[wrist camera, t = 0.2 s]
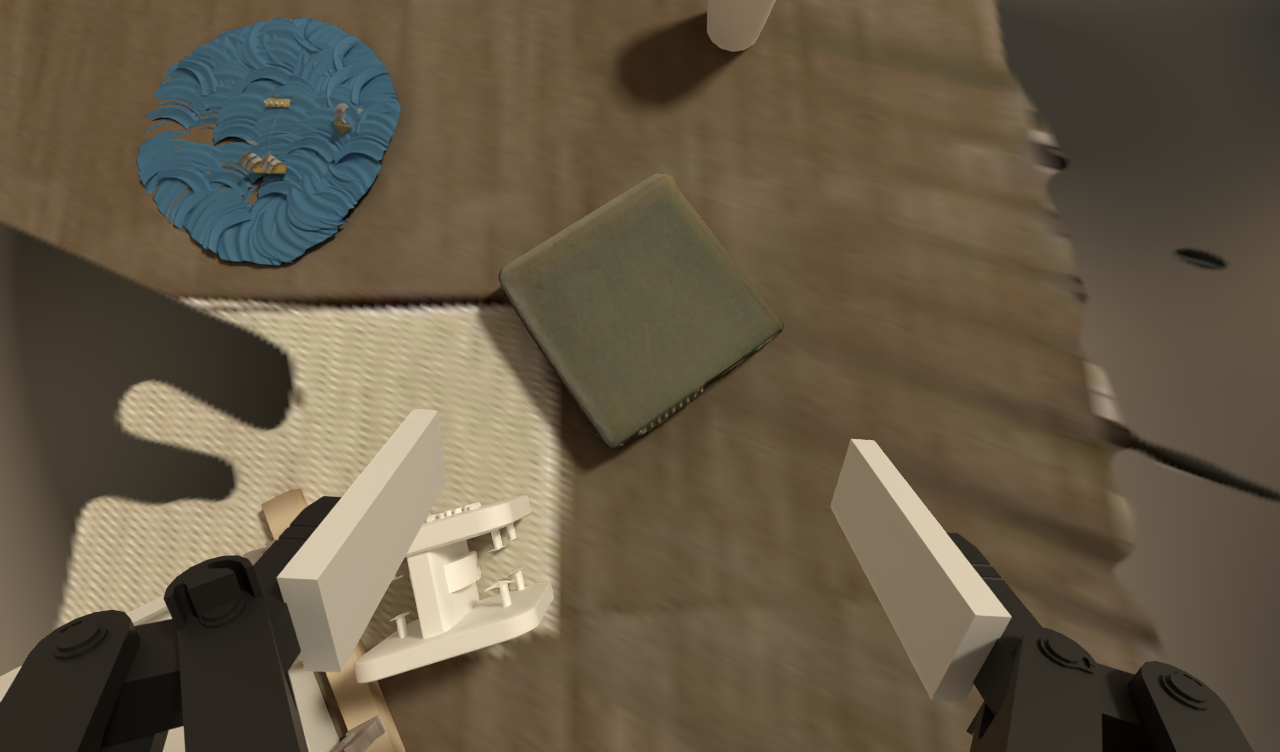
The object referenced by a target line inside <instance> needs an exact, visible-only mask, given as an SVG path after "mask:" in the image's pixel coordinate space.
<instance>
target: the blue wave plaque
mask: <svg viewBox="0 0 1280 752" xmlns="http://www.w3.org/2000/svg"><path fill="white" fill-rule="evenodd" d="M164 77H172V78H173V79H171V80H168V81H166V82H163V83H161V84H160V87H159V90H158V91H157V92H156V93H155V94H154V96H153V98H158V99H160V100H163V99H178V100H183V101H185V102H188V103H190V104H191V106H190V105H188V104H185V103H182V102H176V101H171V102H164V103H161V104H159V105H166V104H175V105H181V106H184V107H187V108H189V109H190V110H191V111H189V110H187V109H185V108H181V107H173V106H172V107H163V108H160V109H158V110H155V111H153V112H151V113H150V114H148V115H146V117H147V119H149V118H153V117H159V116H162V118H171V119H174V120H176V121H178V122H179V123H180V124H182V125H183V126H184V127H185V128H186V129H187V130H188V131H189V128H192V127H195V126H199V125H204V124H217V127H216V128H215V127H205V128H214V131H215V134H214V135H213V137H214V142H215V144H216V143H217V142H219V141H220V140H222V139H223V138H225V137H229V136H231V137H237V138H240V139H243V140H244V141H242V142H233V143H227V144H223V145H220V146H217V147H214V146H211V145H208V144H203V143H190V142H188V141H184V140H180V139H171V138H172V137H175V136H182V135H184V136H186V135H187V136H189V134H188V133H185V132H182V131H168V132H164V133H161V134H159V135H156V136H154V137H152V138H150V139H149V140H147V141H146V142H144V143H143V144H141V145H140V146H139V155H138V156H137V162H138V167H139V169H140V172H139V176H140V179H141V181H142V183H143V185H144V187H145V188H146V192H147V193H148V194H149V195H150V194H151V192H152V191H153V190H154V189H155V187H156V186H158V185H159V186H158V188H157V190H156V192H155V194H154V196H153V199H154V200H155V202H156V203H157V205H158V209H159V210H160V212H161V213H162V214H163V215H164V216H165V217H166V218H167V217H168V214H169V212H170V209H171V207H172V205H173V204H174V202H175V200H176V199H177V198H178V197H179V196H180V195H181V194H182V193H183V192H184V191H186V190H187V189H189V188H190V187H191V188H192V190H191V191H189V192H187V193H186V194H184V195H183V196H182V197H181V198H180V199H179V200H178V201H177V202H176V204H175V205H174V208H173V210H172V212H171V215H170V218H169V222H170V223H171V224H172V222H173V219H174V216H175V221H174V224H173V225H176V226H177V227H178V228H179V229H180V230H181V229H182V231H183V228H182V227H183V226H184V227H185V228H186V229H188V230H189V232H190V233H191V236H192V237H193V238H194V239H195V240H196V241H197V242H199V243H200V244H201V245H202V246H203V247H204V248H205V249H207V248H209V249H210V250H212V251H213V252H214V253H216V255H217V252H218V254H219V256H220V258H221V259H224V260H229V261H237V262H240V261H243V260H245V261H250V262H255V263H259V264H270V265H281V262H282V261H283V262H286V263H287V262H289V263H294V262H293V261H292V260H293V259H295V258H296V257H298V256H300V255H302V254H304V252H305V250H306V249H307V248H310V247H312V246H314V245H315V244H317V243H320V242H322V241H324V240H325V239H327V238H328V237H331V236H332V235H333V234H334V233H336V232H338V225H341V224H344V223H346V222H347V221H345V220H341V219H343V218H344V217H345V215H347V213H348V210H349V209H350V208H354V204H357V201H358V200H359V199H360V198H361V197H362V196H363V195H364V194H365V193H366V192H367V190H368V189H369V188H370V187H371V184H372V183H373V181H374V179H375V177H376V175H377V173H378V172H379V170H380V169H381V167H382V166H381V164H380V163H379V160H381V159H382V158H383V152H384V151H385V150H388V149H387V146H389V140H390V138H391V137H392V135H393V133H394V129H395V127H396V125H397V123H398V118H399V113H400V108H401V105H400V104H398V103H397V100H398V98H396V94H395V92H394V84H393V83H392V81H391V78H390V75H389V73H388V71H387V69H386V67H385V65H384V64H383V63H382V62H381V61H380V60H379V59H378V58H377V56H376V53H374V52H373V51H372V50H371V48H369V47H368V46H367V45H366V44H365V43H364V42H363V41H361V40H359V39H358V38H356V37H355V36H353V35H349V34H348V33H346V32H344V31H342V30H341V29H340V28H339V27H335V26H333V25H332V24H326V23H324V22H322V21H320V20H318V19H315V20H311V18H310V19H309V18H299V19H286V18H276V19H273V20H271V21H259V22H257V23H256V24H253V25H252V26H244V27H242V28H240V29H230V30H228V31H227V32H225V33H221V34H220V35H219V36H218V38H217V39H215V40H211V41H210V42H209V43H207V44H205V45H201V46H199V47H198V48H197V49H196V50H195V51H193V53H192V55H191V56H186V57H185V59H184V60H179V63H176V64H174V65H172V66H170V67H169V70H168V72H166V73H165V74H164ZM159 105H157V106H159ZM207 109H221V110H210V111H206V110H207ZM197 111H199V112H200V114H199V113H198V112H197ZM193 112H194V113H196V116H198V117H199V118H202V117H201V115H203V116H204V114H212V113H218V116H208V117H204V118H202V119H200V120H198V119H197V118H196V116H195V115H194V114H193ZM160 118H161V117H160ZM157 119H158V118H157ZM157 119H156V120H157ZM168 121H171V120H165V121H162V122H159V123H157V124H155V125H153V126H152V127H151V128H149V129H148V130H146V131H145V132H147V131H149V130H150V129H152V128H154V127H156V126H158V125H160V124H163V123H165V122H168ZM188 123H190V124H191V125H189V126H188ZM145 132H144V133H145ZM215 144H214V145H215ZM178 146H182V147H181V148H180V149H178V148H176V147H178ZM151 160H152V161H151ZM150 161H151V162H150ZM149 162H150V163H149ZM220 162H225V163H226V164H227V165H221V163H220ZM230 163H234V164H237V165H239V166H241V167H243V168H244V169H246V170H247V171H248V172H249V173H250V175H251V176H250V175H249V174H248V173H247V172H246V171H244V170H242V169H241V168H238V167H235V166H230ZM223 168H228V169H233V170H236V171H239V172H241V173H242V174H244V175H245V176H246V177H247V178H248V179H249V180H250V181H251V182H252V184H253V183H256V180H257V179H258V178H260V177H262V176H264V177H263V182H262V183H261V184H260V189H259V190H258V197H259V199H258V200H257V201H256V202H255V204H254V205H253V206H252V204H249V203H248V204H246V202H247V200H248V198H249V197H250V195H251V194H252V192H253V191H254V190H255V188H256V187H257V186H255V187H254V188H253V189H251V190H250V191H249V193H248V194H247V195H246V197H245V198H244V200H243V199H242V195H245V194H246V193H247V191H248V188H249V187H253V186H252V184H251V183H250V181H249V180H248V179H247V178H246V177H245V176H243V175H242V174H240V173H237V172H234V171H224V169H223ZM209 170H210V171H211V172H212V173H210V174H208V172H207V171H209ZM227 184H228V185H229V186H231V187H228V188H221V189H217V190H215V189H216V188H218V187H220V186H223V185H227ZM253 185H254V184H253ZM251 207H252V208H251Z"/></svg>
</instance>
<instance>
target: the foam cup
mask: <svg viewBox="0 0 1280 752" xmlns="http://www.w3.org/2000/svg"><path fill="white" fill-rule="evenodd" d="M775 1H776V0H708V8H707V33H708V35H709V37H710V39H711V41H712V42H713V43H714V44H716V45H717V46H718V47H719V48H721V49H724V50H728V51H732V52H735V51H742V50H745V49H747V48H749V47H750V46H752V45H753V44H754V43H755V41H756V40H757V38H758V36H759V34H760V32H761V30H762V28H763V26H764V24H765V22H766V20H767V18H768V15H769V13H770V11H771V9H772V7H773V5H774V3H775Z"/></svg>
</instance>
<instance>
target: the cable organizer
mask: <svg viewBox="0 0 1280 752" xmlns="http://www.w3.org/2000/svg"><path fill="white" fill-rule="evenodd" d="M463 509H464V510H463ZM531 512H532V511H531V507H530V503H529V499H528V496H526V495H523V496H516V497H511V498H507V499H503V500H499V501H496V502H492V503H489V504H485V505H482V506H481V504H480V502H478V503H474V504H471V505H468V506H464V507H461V508H457V509H454V510H450V511H447V512H443V513H440V514H436V515H433V516H429V517H426V519H425V521H424V523H423V525H422V527H421V528H420V530H419V532H418V534H417V536H416V538H415V539H414V541H413V543H412V545H411V547H410V548H409V550H408V552H407V554H406V556H405V557H407V562H408V567H409V572H410V575H409V577H410V581H411V585H412V589H413V593H414V597H415V602H416V607H417V612H418V617H419V619H417V620H415V621H412V622H410V623H408V624H407V623H406V617H405V616H406V615H409V614H411V613H409V612H410V611H409V612H406V613H403V614H400V615H398V616H396V617H395V618H394V619H392V620H395V619H396V623H397V628H398V630H397V631H396V632H394V633H393V634H391V635H390V636H389V637H387V638H386V639H385V640H383V641H382V642H380V643H379V644H378V645H376V646H375V647H374V648H372V649H371V650H369V651H368V652H367V653H365V654H364V655H363V656H361V657H360V658H358V659H357V660H356V661H355V662H354V669H355V674H356V680H357V682H358V683H368V682H373V681H377V680H380V679H384V678H387V677H390V676H393V675H397V674H400V673H403V672H407V671H410V670H413V669H416V668H420V667H423V666H426V665H430V664H433V663H436V662H439V661H443V660H446V659H449V658H452V657H456V656H459V655H462V654H466V653H469V652H472V651H475V650H479V649H482V648H485V647H489V646H492V645H495V644H498V643H502V642H505V641H508V640H511V639H514V638H516V637H519V636H521V635H524V634H526V633H528V632H529V631H531V630H533V629H534V628H536V627H537V626H538V625H539V624H540V622H541V620H542V619H543V617H544V615H545V613H546V611H547V610H548V608H549V606H550V604H551V602H552V601H553V599H554V595H553V591H552V586H551V583H550V582H542V583H536V584H532V585H529V586H524V582H523V577H522V573H521V570H523V569H525V568H523V567H521V568H518V569H515V570H513V571H512V572H511V573H510V574H512V573H514V578H515V582H516V586H517V589H515V590H512V591H509V589H508V584H507V583H510V582H512V581H508V580H504V581H498V582H496V583H494V584H493V585H491V586H490V587H489V588H488V589H487V590H490V589H493V588H499V589H500V594H498V595H495V596H492V597H488V598H485V599H482V600H479V595H478V591H477V586H476V581H477V580H479V579H480V578H481V577H482V576H481V571H480V566H479V562H478V557H477V553H476V551H471V552H469V550H468V545H467V541H466V540H467V539H470V538H474V537H477V536H480V535H484V534H487V533H490V532H491V535H492V540H493V544H494V549H493V550H491V551H496V550H500V549H502V548H504V547H506V546H508V545H506V546H504V545H503V544H502V540H501V535H500V531H499V529H501V528H504V527H506V529H507V533H508V537H509V539H507V541H513V540H515V539H517V538H519V537H521V536H519V537H518V536H517V537H516V533H515V529H514V525H513V523H514V522H516V521H517V520H519V519H521V518H523V517H525V516H527V515H529V514H530V513H531ZM507 541H504V542H507ZM491 551H488V552H491ZM508 575H509V574H508ZM404 576H405V575H404ZM401 577H403V576H402V575H400V576H398V577H396V574H395V576H394V578H393V579H392V581H394V580H396V579H398V578H401ZM487 590H485V591H487ZM392 620H390V621H392ZM388 622H389V621H388Z"/></svg>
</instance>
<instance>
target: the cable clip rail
mask: <svg viewBox="0 0 1280 752" xmlns="http://www.w3.org/2000/svg"><path fill="white" fill-rule="evenodd" d="M261 506H262V509H263V511H264V514H265V516H266V519H267V522H268V524H269V527H270V529H271V532H272V535H273V537H274V540H272V541H270V542H268V543H266V548H262V549H258V550H254V551H250V552H248V553H246V554H244V555H243V556H244V558H247V559H249V561H250V562H251V563H252V565H254V564H255V563H256V562H257V561H258V560H259V558H260V557H261V556H262V555H263V554H264V553H265V552H266V551H267V549H268V548H269V547H270V546H271V545H272V544H273V543H274V542H275V541H276V540H278V539H279V536H280V535H281V534H282V533H283V532H284V530H285V529H286V528H287V527H288V528H289V527H290V524H291V523H292V521H293V520H294V519H295V518H296V517H297V516H298V515H299V514H300V512H301V511H302V510H303V509H304V508H306V507H307V503H306V501H305V498H304V496H303V493H302V491H301V489H296V490H290V491H288V492H286V493H283V494H281V495H279V496H277V497H275V498H273V499H271V500H269V501H267V502H265V503H263V504H261ZM365 653H366V651H365V649H364V646H363V643H362V641H361V638H360V640H359V641H358V643H357V645H356V647H355V649H354V651H353V652H352V654H351V656H350V658H349V660H348V662H347V663H346V665H345V667H344V669H343V671H342V672H341V673H340V672H326V675H327V677H328V680H329V682H330V685H331V687H332V690H333V693H334V695H335V698H336V700H337V703H338V706H339V708H340V711H341V713H342V716H343V719H344V721H345V724H346V726H347V729H348V732H347V733H346V737H345V738H344V739H343V740H342V741H341V742H340V743H339V744H338V745H337V746H336V747H335V748H334V749H333V750H332V751H331V752H406V751H405V749H404V746H403V744H402V741H401V739H400V736H399V734H398V731H397V729H396V726H395V724H394V721H393V719H392V716H391V714H390V711H389V709H388V706H387V704H386V701H385V699H384V696H383V694H382V691H381V689H380V686H379V684H378V681H373V682H368V683H358V682H357V680H356V674H355V669H354V662H355V661H356V660H357V659H358V658H360V657H361V656H363V655H364V654H365ZM301 660H302V659H301V656H300V654H299V655H298V657H297V658H296V660H295V661H294V663H293V665H295V664H296V663H298V662H300V661H301ZM293 665H292V666H293Z"/></svg>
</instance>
